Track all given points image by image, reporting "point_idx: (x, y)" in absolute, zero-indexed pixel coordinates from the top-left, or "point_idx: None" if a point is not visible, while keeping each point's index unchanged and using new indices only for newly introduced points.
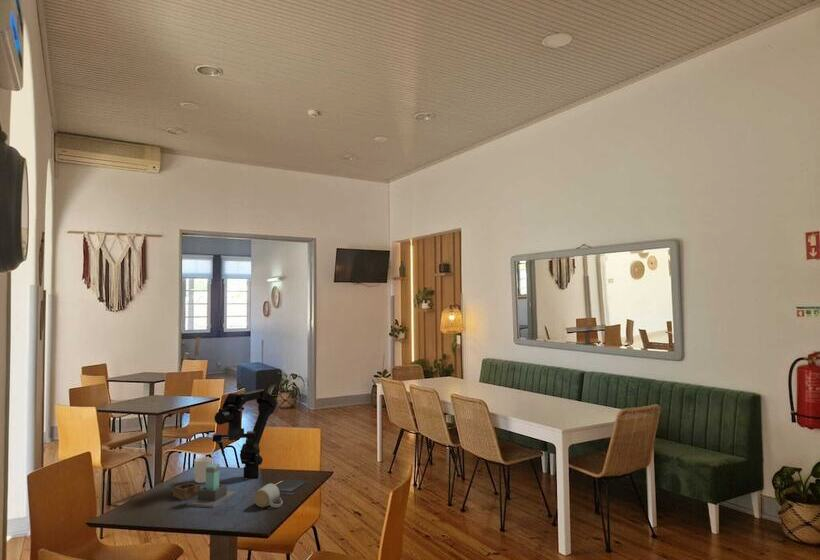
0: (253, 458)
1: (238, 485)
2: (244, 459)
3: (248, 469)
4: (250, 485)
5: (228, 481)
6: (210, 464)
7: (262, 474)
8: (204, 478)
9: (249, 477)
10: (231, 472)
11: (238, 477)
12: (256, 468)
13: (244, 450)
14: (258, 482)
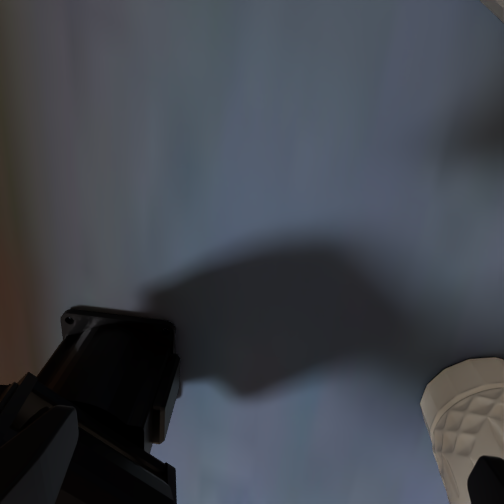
0: (4, 432)
1: (235, 174)
2: (129, 467)
3: (123, 380)
4: (126, 126)
5: (301, 318)
6: None
7: None
8: (494, 379)
9: (134, 327)
10: (254, 489)
11: (218, 381)
12: (50, 380)
13: (9, 483)
14: (57, 193)
